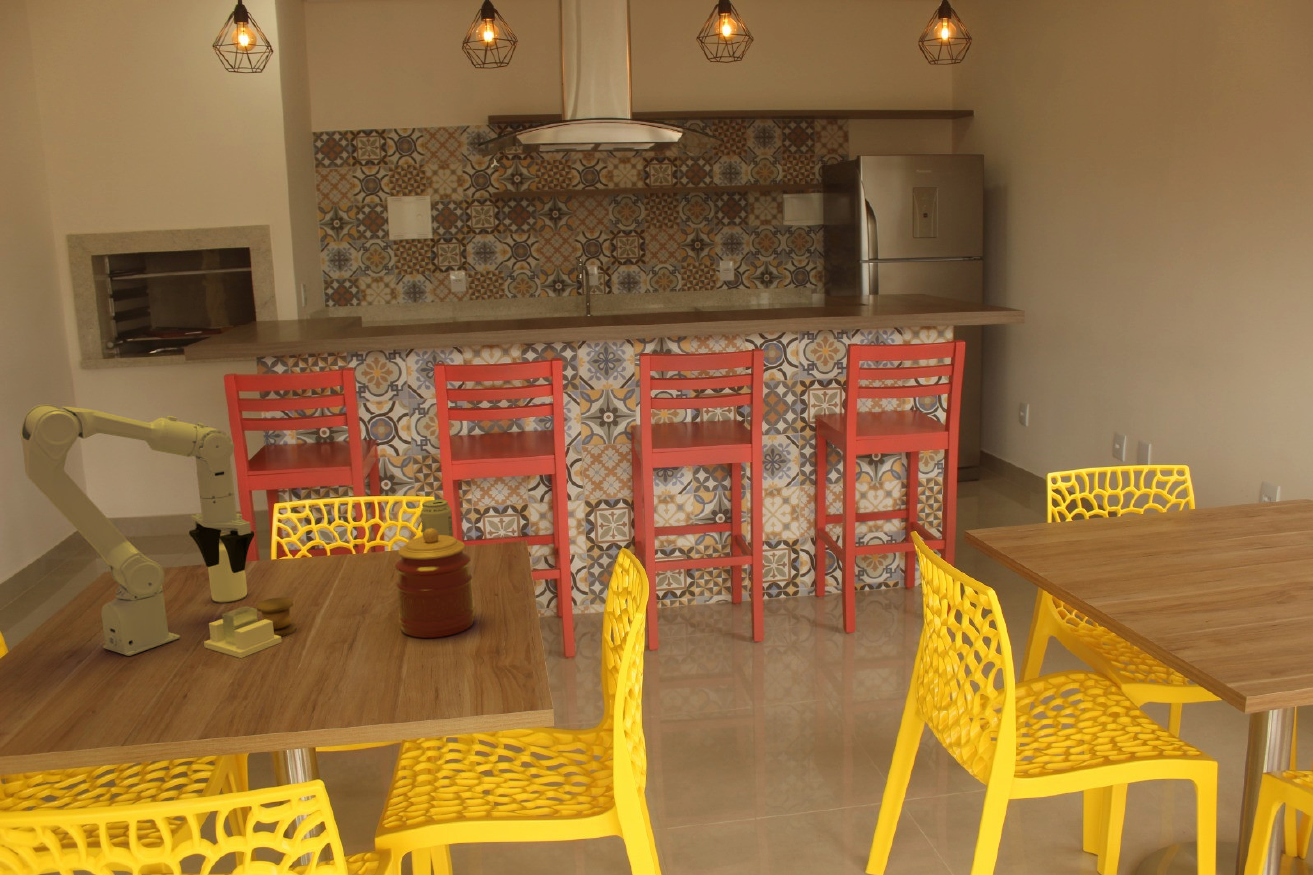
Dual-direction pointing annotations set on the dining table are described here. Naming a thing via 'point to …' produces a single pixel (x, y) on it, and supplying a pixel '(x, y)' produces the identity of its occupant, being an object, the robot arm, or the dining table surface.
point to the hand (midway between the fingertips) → (225, 568)
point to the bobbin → (278, 615)
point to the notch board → (243, 638)
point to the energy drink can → (437, 517)
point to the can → (226, 579)
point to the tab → (237, 621)
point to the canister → (434, 586)
